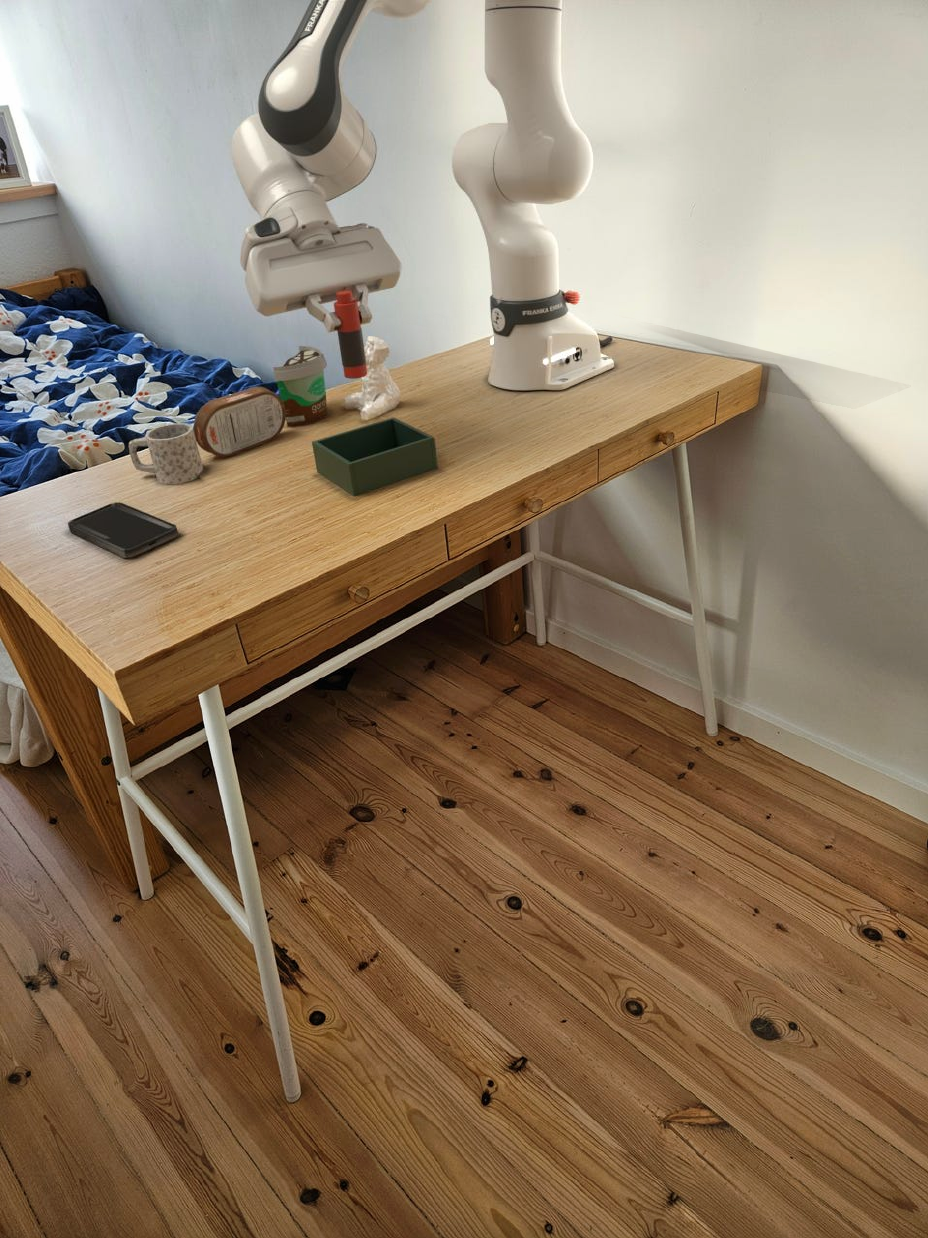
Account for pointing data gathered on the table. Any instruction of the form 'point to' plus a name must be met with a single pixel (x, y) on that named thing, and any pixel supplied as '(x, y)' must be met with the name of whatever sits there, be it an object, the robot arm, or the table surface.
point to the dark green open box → (375, 455)
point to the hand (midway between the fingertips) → (350, 324)
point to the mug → (170, 453)
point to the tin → (239, 421)
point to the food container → (303, 387)
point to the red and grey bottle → (350, 336)
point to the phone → (123, 529)
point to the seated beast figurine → (375, 383)
